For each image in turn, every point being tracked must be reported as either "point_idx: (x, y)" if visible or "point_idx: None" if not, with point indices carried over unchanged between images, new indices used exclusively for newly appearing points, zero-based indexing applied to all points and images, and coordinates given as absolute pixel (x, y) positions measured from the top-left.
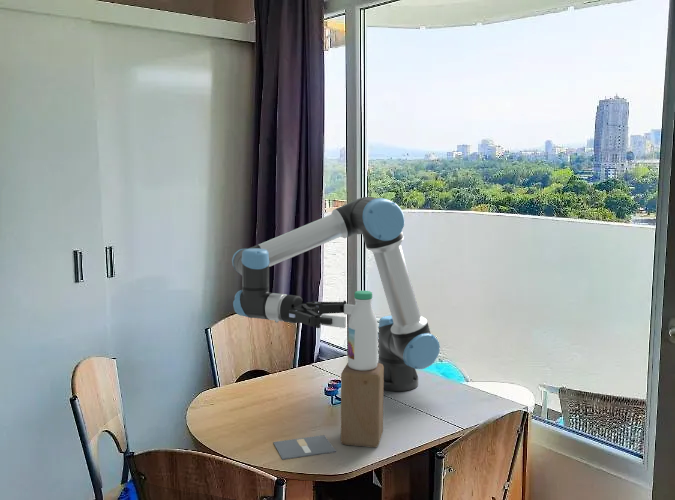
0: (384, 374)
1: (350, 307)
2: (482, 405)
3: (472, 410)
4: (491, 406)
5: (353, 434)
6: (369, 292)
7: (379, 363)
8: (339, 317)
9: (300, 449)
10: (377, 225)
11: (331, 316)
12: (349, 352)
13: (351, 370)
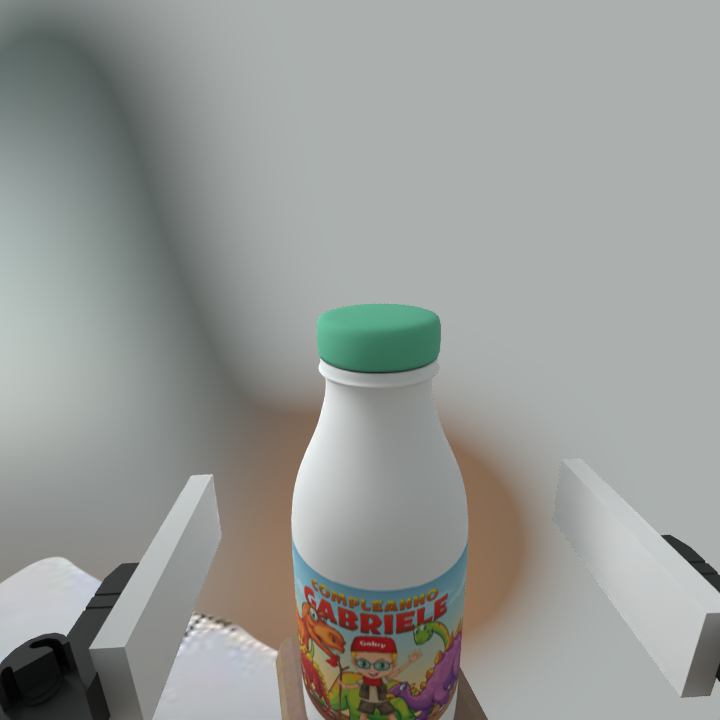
0: None
1: (166, 594)
2: (31, 621)
3: None
4: (43, 602)
5: None
6: (371, 304)
7: (296, 644)
8: (602, 482)
9: None
10: None
11: (647, 528)
12: (453, 678)
13: (465, 716)
